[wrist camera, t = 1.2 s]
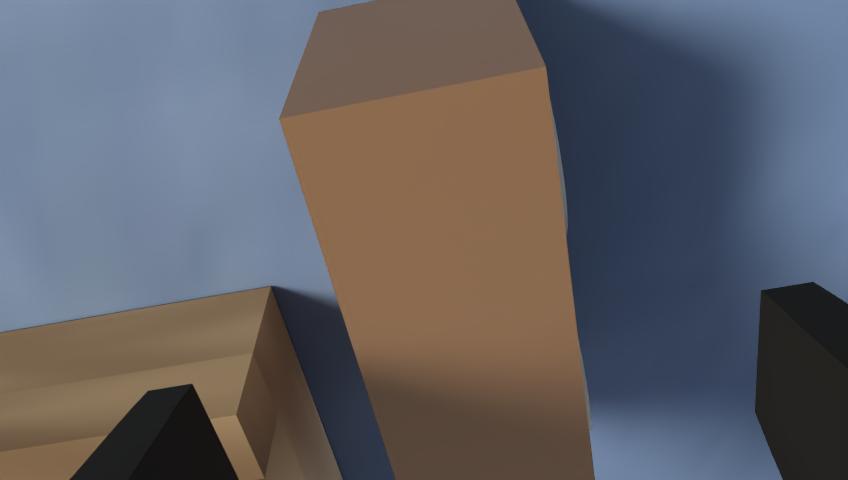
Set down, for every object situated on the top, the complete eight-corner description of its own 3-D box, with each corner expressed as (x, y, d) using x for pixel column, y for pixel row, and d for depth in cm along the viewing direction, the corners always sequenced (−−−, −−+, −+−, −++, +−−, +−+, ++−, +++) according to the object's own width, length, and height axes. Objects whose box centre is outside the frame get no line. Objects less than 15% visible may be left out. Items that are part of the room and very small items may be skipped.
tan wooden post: (562, 351, 16) (609, 531, 12) (418, 374, 16) (420, 557, 13) (511, -31, 12) (560, 64, 8) (319, 9, 12) (279, 119, 8)
